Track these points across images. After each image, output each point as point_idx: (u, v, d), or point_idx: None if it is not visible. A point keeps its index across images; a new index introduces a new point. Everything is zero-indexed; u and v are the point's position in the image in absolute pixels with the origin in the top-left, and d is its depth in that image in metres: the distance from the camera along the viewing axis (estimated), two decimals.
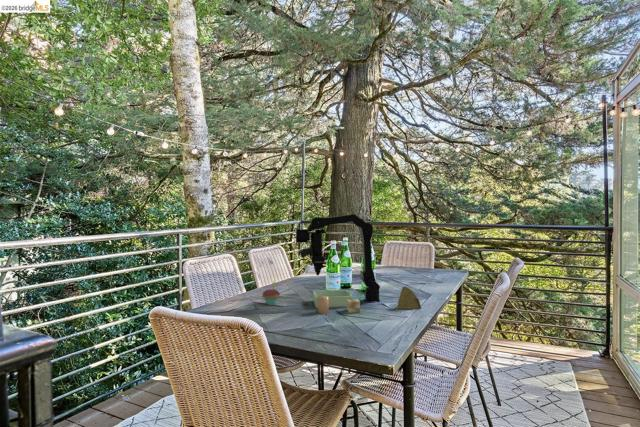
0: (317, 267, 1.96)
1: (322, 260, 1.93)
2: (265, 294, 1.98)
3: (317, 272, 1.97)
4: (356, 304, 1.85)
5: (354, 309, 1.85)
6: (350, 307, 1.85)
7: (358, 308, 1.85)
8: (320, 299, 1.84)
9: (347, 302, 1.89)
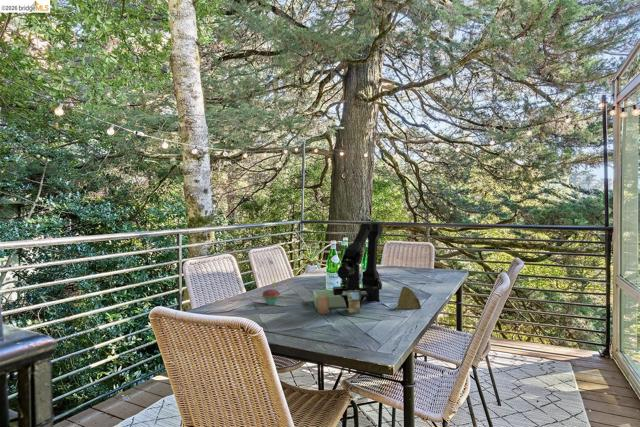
0: (345, 300, 1.87)
1: (333, 293, 1.84)
2: (265, 294, 1.98)
3: (346, 305, 1.87)
4: (356, 304, 1.85)
5: (354, 309, 1.85)
6: (350, 307, 1.85)
7: (358, 308, 1.85)
8: (320, 299, 1.84)
9: None
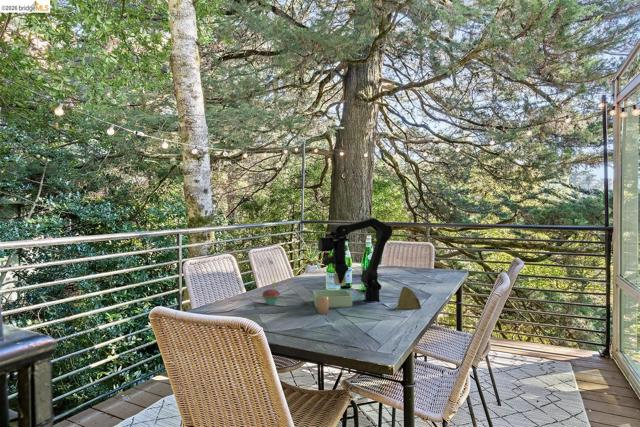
0: (340, 275, 1.95)
1: (346, 269, 1.89)
2: (265, 294, 1.98)
3: (340, 280, 1.95)
4: None
5: None
6: None
7: None
8: (320, 299, 1.84)
9: (337, 277, 1.96)
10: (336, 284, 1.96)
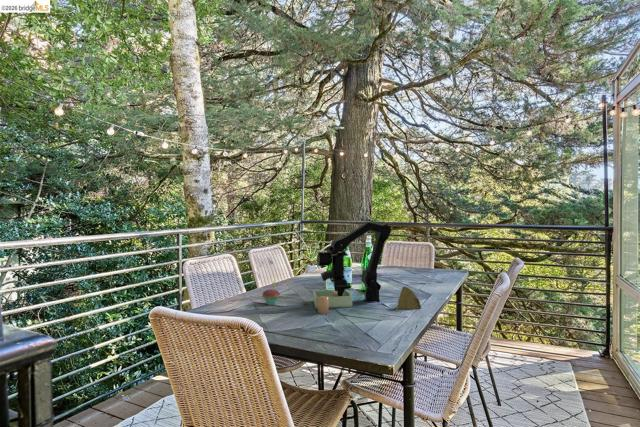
0: (339, 290, 1.95)
1: (345, 284, 1.91)
2: (265, 294, 1.98)
3: (339, 295, 1.95)
4: None
5: None
6: None
7: None
8: (320, 299, 1.84)
9: (335, 296, 1.98)
10: None
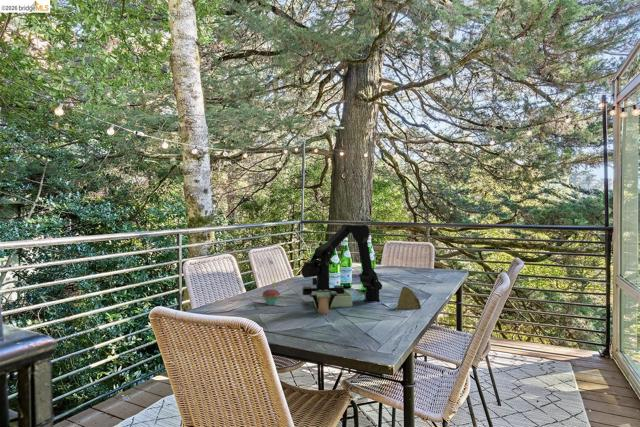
0: None
1: (303, 293, 1.83)
2: (265, 294, 1.98)
3: (316, 305, 1.86)
4: None
5: None
6: None
7: None
8: (320, 299, 1.84)
9: (335, 296, 1.98)
10: None
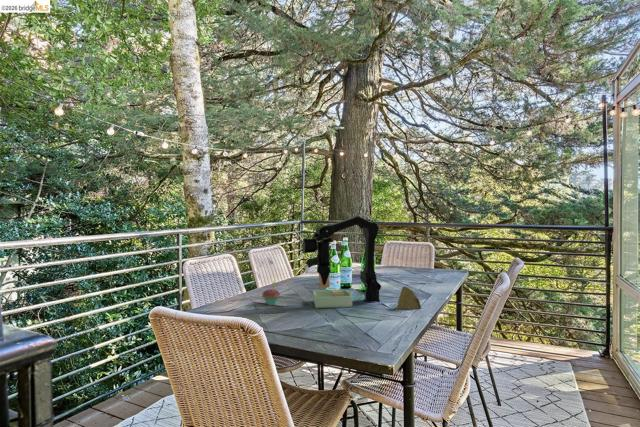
0: (323, 276, 1.93)
1: (327, 270, 1.87)
2: (265, 294, 1.98)
3: (323, 282, 1.94)
4: None
5: None
6: None
7: None
8: None
9: (335, 296, 1.98)
10: None
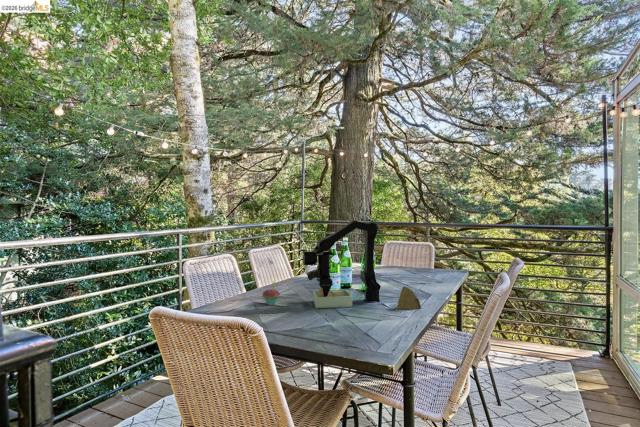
0: (325, 290, 1.94)
1: (330, 283, 1.90)
2: (265, 294, 1.98)
3: (325, 295, 1.95)
4: None
5: None
6: None
7: None
8: None
9: (335, 296, 1.98)
10: None
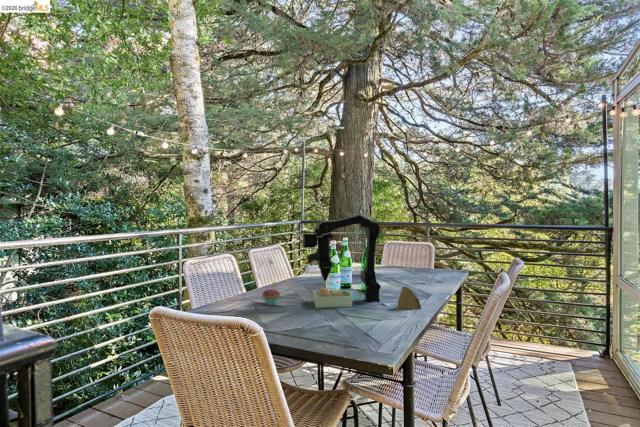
0: (324, 272, 1.94)
1: (330, 265, 1.90)
2: (265, 294, 1.98)
3: (324, 277, 1.94)
4: None
5: None
6: None
7: None
8: (328, 290, 1.99)
9: (335, 296, 1.98)
10: None
